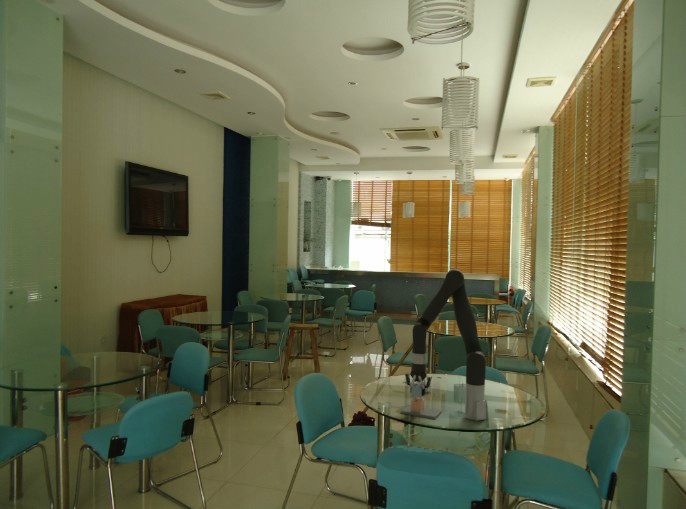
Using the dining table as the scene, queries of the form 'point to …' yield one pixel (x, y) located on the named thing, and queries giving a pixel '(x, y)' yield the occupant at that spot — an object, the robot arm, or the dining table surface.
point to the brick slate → (416, 390)
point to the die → (425, 384)
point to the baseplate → (425, 413)
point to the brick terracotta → (417, 404)
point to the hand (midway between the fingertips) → (417, 394)
